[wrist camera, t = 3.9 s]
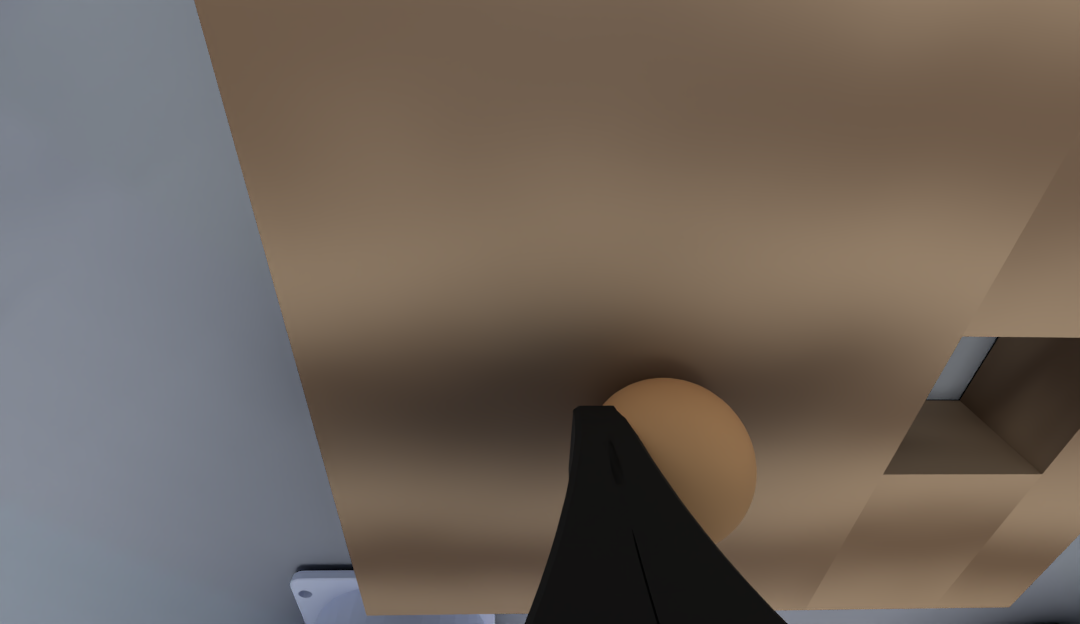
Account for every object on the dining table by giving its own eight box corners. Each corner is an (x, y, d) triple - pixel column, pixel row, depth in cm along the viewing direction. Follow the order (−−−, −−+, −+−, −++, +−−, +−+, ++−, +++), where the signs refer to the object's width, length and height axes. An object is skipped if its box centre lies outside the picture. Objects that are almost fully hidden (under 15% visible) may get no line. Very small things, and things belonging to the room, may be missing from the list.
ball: (652, 444, 13) (771, 535, 11) (548, 504, 12) (661, 630, 9) (669, 331, 12) (813, 408, 9) (551, 380, 10) (689, 491, 7)
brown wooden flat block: (946, 529, 20) (1009, 607, 17) (387, 533, 19) (366, 615, 16) (1339, -8, 10) (1606, -13, 8) (268, -52, 9) (173, -76, 7)
